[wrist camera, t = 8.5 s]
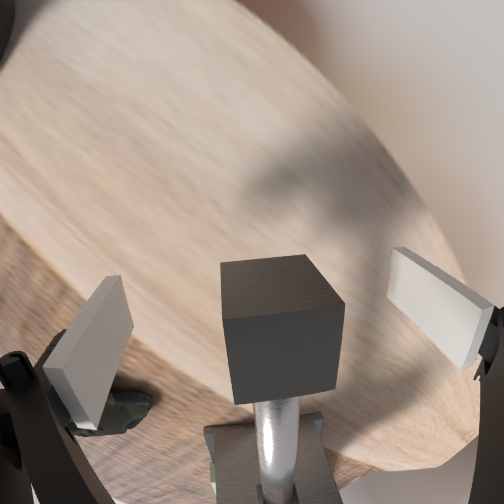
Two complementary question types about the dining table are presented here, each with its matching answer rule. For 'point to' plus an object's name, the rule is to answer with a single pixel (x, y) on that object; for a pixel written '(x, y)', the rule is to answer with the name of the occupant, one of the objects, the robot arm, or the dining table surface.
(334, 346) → the shaft
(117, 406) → the stone
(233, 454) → the bearing block
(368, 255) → the dining table surface
